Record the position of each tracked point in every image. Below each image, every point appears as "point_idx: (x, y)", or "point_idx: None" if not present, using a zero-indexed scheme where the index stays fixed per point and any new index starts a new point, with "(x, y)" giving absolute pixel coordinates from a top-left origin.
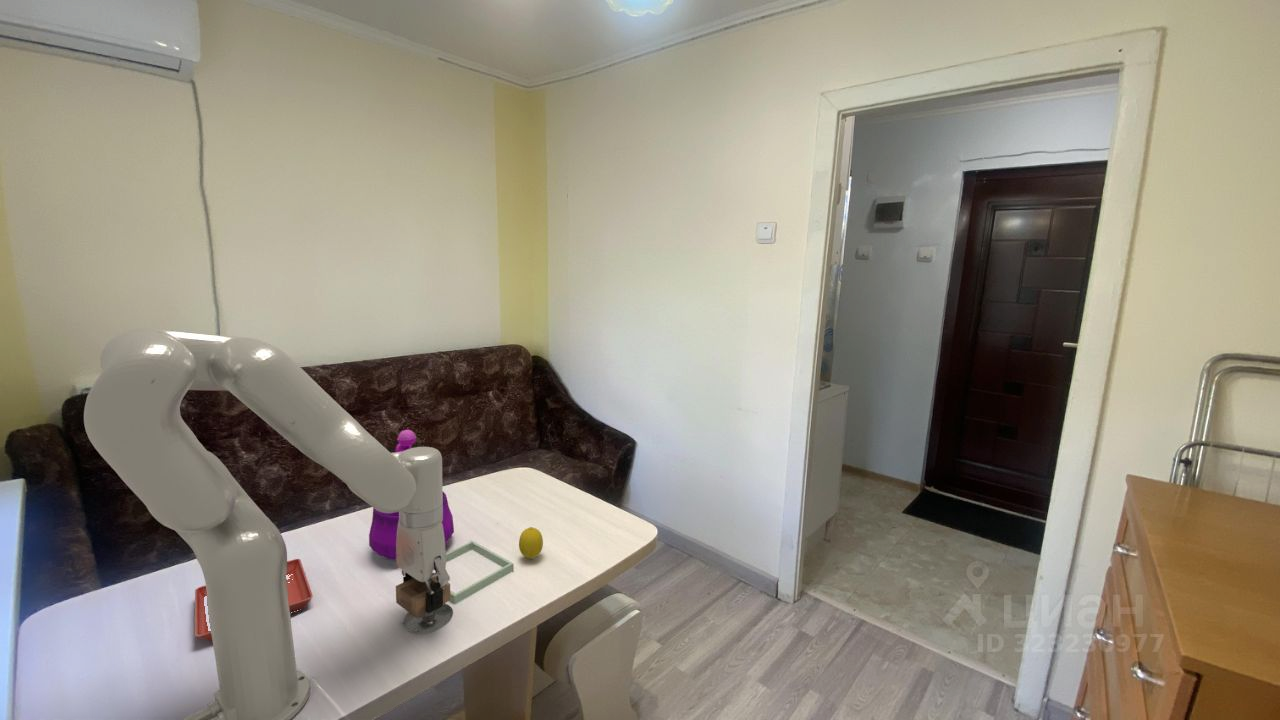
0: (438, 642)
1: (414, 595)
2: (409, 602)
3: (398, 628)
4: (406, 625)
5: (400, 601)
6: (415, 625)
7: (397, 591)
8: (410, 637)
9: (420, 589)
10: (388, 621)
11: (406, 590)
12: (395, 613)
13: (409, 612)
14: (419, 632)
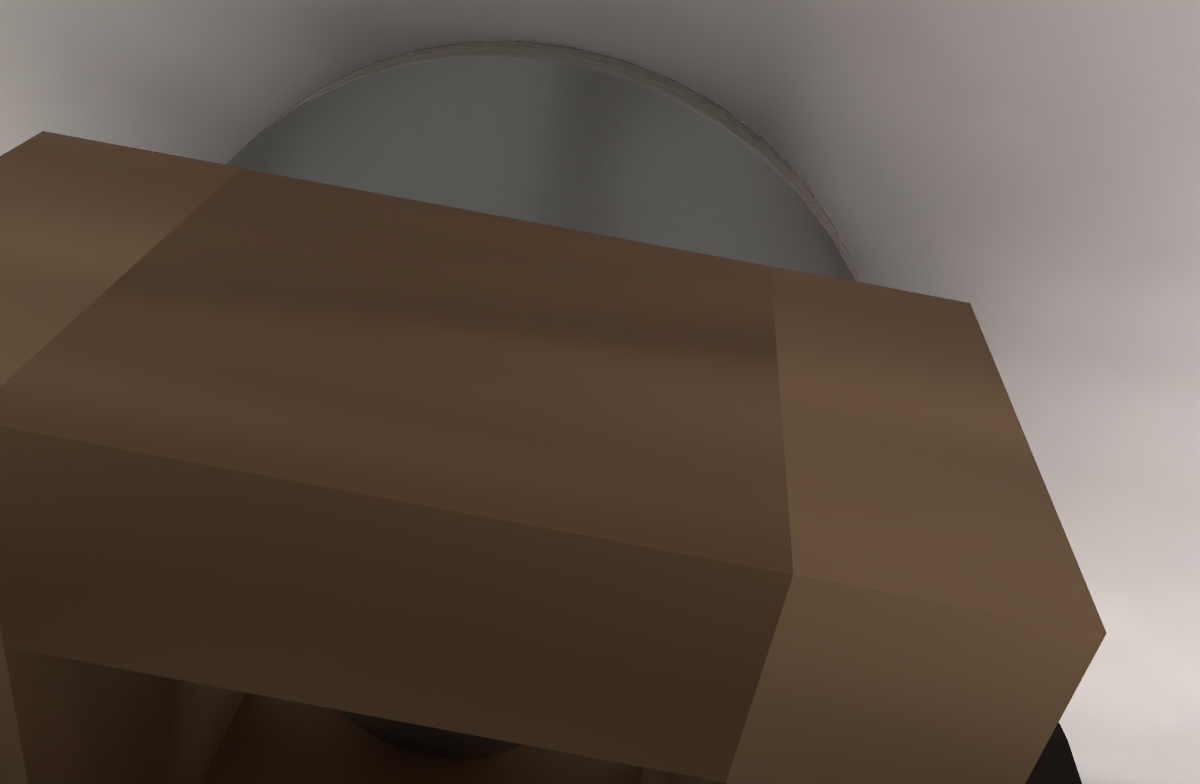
0: (5, 145)
1: (28, 541)
2: (232, 323)
3: (803, 67)
4: (653, 138)
5: (761, 322)
6: (523, 209)
7: (948, 496)
8: (443, 12)
9: (664, 779)
10: (1110, 106)
11: (504, 610)
12: (1141, 295)
13: (352, 194)
14: (320, 123)
